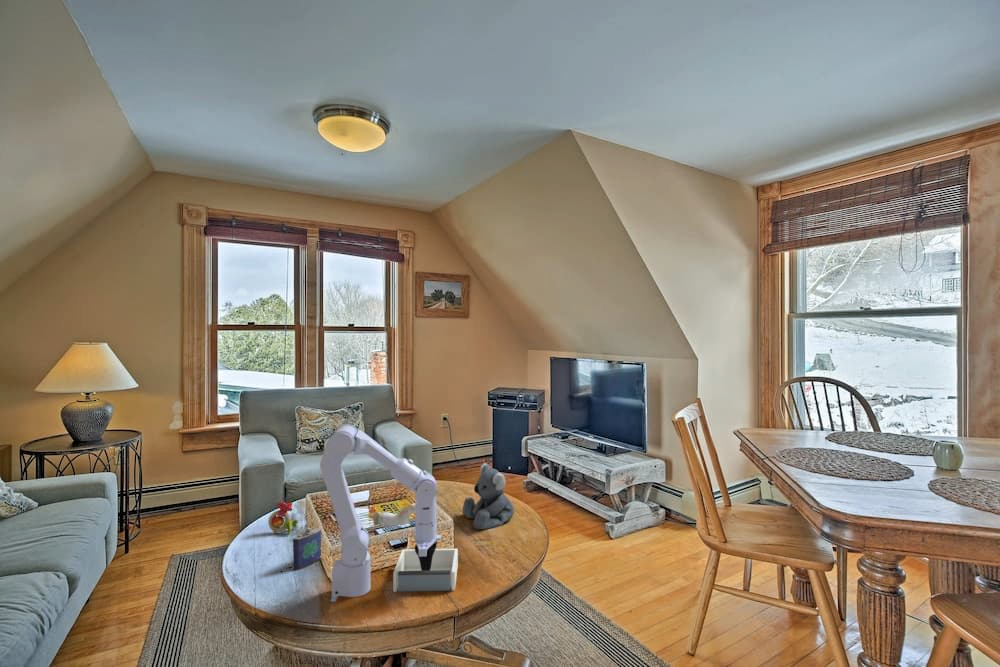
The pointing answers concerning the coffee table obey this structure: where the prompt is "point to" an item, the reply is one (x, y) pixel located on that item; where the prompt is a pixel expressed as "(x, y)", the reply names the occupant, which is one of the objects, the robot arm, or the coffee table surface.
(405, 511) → the unicorn figurine
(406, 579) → the door panel
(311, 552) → the flask
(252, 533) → the coffee table surface
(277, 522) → the bird rattle
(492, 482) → the koala plush
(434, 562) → the white cubby shelf
